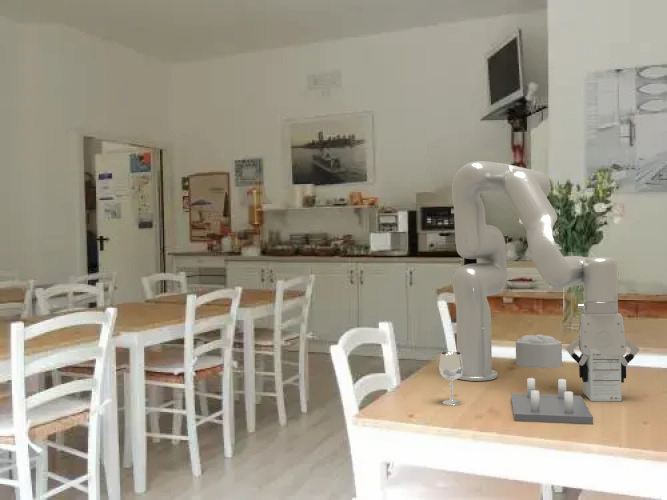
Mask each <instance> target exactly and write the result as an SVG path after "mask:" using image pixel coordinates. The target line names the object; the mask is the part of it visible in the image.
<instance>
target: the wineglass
mask: <svg viewBox="0 0 667 500" xmlns="http://www.w3.org/2000/svg"><path fill="white" fill-rule="evenodd" d="M438 369H439V373H440V375H441V377H443V378H444V379H446V380H449V388H450V398H449V399H446V400H443V401H442V404H443V405H446V406H460V405H461V404H462V402H461V401H460V400H456V399H455V398H454V394H453V393H454V392H453V391H454V384H455V382H454V380H457V378H459V377H461V375H462V374H463V369H464V366H463V359H462V355H461V353H460V352H457V351H450V350H449V351H442V352H440V357H439V363H438Z"/></svg>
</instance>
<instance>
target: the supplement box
mask: <svg viewBox="0 0 667 500" xmlns="http://www.w3.org/2000/svg"><path fill="white" fill-rule="evenodd" d="M585 365H586V366H587V382H583V381H582V393H583V395H585V397H587V398H588V399H589V401H590V402H622V401H623V400H622V383H621V356H620V357H614V356H601V353H600V351H599V350H597V349H590V356H588V359H587V360H586V362H585Z"/></svg>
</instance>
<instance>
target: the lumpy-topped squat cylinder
mask: <svg viewBox="0 0 667 500" xmlns="http://www.w3.org/2000/svg"><path fill="white" fill-rule="evenodd" d="M562 347H563V345H562V341H560V340H559V339H556V338H554V337H553V336H552V335H545V334H544V335H543V334H541V333H540V334H538V333H537V334H535V335H534V334H533V335H532V334H526V335H522V336H521V338H520V337H519V338H518V340H516V341H515V366H517V365H518V367H522V368H523V367H525V368H535V369H536V368H537V369H553V368H554V367H556V368H561V367H563V353H562V352H563V350H562V349H563V348H562ZM560 366H561V367H560Z"/></svg>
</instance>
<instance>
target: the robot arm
mask: <svg viewBox="0 0 667 500" xmlns="http://www.w3.org/2000/svg"><path fill="white" fill-rule="evenodd" d="M550 182H551V181H550V180H549V178H548V176H547V175H546V174H545V173H544V172H542V171H539V170H537V169H536V170H535V169H530V168H525V167H521V166H517V165H512V164H509V163H504V162H503V163H502V162H494V161H486V160H485V161H484V160H476V161H471V162H468V163H466V164H464V165H462V167H460V168H459V169H458V170H457V172H456V173H455V175H454V177H453V180H452V182H451V183H452V184H451V198H452V202H453V211H454V214H453V216H454V217H453V218H454V220H453V221H454V240H455V249H456V252H457V254H458V255H459V256H460V257H461V258H464V259H467V260H468V259H469V260H476V263H467V264H464V265H462V266H460V267H459V268H458V269H456V270H455V272H454V274H453V276H452V280H451V281H452V282H451V284H452V290H453V296H454V302H455V319H456V321H455V323H456V352H460V353H461V355H462V359H463V366H464V369H463V374H462V375H461V377H459V378H457V379H458V380H462V381H470V382H471V381H473V382H485V381H492V380H495V379H496V378H498V377H499V376H498V374H499V373H498V372H497V371H496V370H494V369H493V367H492V365H493V363H492V359H493V357H492V314H491V307H490V304H489V301H488V298H487V297H488V296H489V297H490V296H496V295H497V294H500V293H501V292H502V291H503V290H504V289H505V287H506V285H507V279H508V270H507V269H508V268H507V249H506V246H507V245H506V240H505V237H504V235H503V233H502V231H501V230H500V229H499V228H498V227H496V226H494V225H493V224H492V225H491V224H487V223H486V208H485V205H484V202H483V199H482V197H481V194H483V193H485V194H486V193H489V194H500V195H501V194H502V195H505V196H506V197H507V199H508V201H509V202H510V204H511V206H512V207H513V209H514V211H515V212H516V215H517V216H518V218H519V220H520V221H521V223H522V226H523V227H524V229H525V231H526V241H527V250H528V253H529V255H530V256H529V257H530V259H531V261H532V263H533V264H534V266H535V268H536V269H537V271H538V273H539V275H540V277H541V278H542V280H544V282H546V284H548V286H551V288H557V289H563V288H568V287H577V286H583V302H582V303H577V310H582V311H583V313H581V315H580V316H581V317H580V321H579V322H580V323H579V332H578V334H579V335H578V338H577V339H575V340H574V341H573V342H571V343H569V344H568V345H566V346H565V351H567V353H568V354H569V355H570V356H571V358H572V359H573V360H574V361H575V362H576V363H578V369H579V370H578V371H579V372H578V375H579V378H581V380H582V383H583V382H587V366H586V365H585V362H586V360H587V359H588V356H590V349H597V350H599V351H600V353H601V356H614V357H620V356H621V384H622V383H624V384H625V379H627V366H628V365H629V364H630V362H631V361H633V359H634V358H635V356H636V355H637V353H639V351H640V348H639V347H638V346H637V345H635V344H634V343H632V342H631V341H630V340H628V339H626V331H625V325H624V318H623V315H622V314H621V313H619V310H618V309H619V301H618V299H619V298H618V264H617V260H616V258H613V257H610V256H593V257H592V256H591V257H587V256H581V255H566V256H564V255H563V254H562V252H561V250H560V249H559V247H558V245H557V243H556V241H555V239H554V235H553V234H554V233H553V232H554V231H553V228H554V226H555V224H556V222H557V220H558V213H557V212H556V210H555V208H554V206H553V205H552V204H551V202H550V200H549V199H548V196H549V194H550V191H551V183H550ZM575 348H578V349H579V352H581V354H580V355H578V354H577V353H576V352H575V351H574V350H575ZM627 348H629V350H630V351H629V352H628V353H627ZM626 353H627V354H626ZM457 379H456V380H457Z"/></svg>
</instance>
